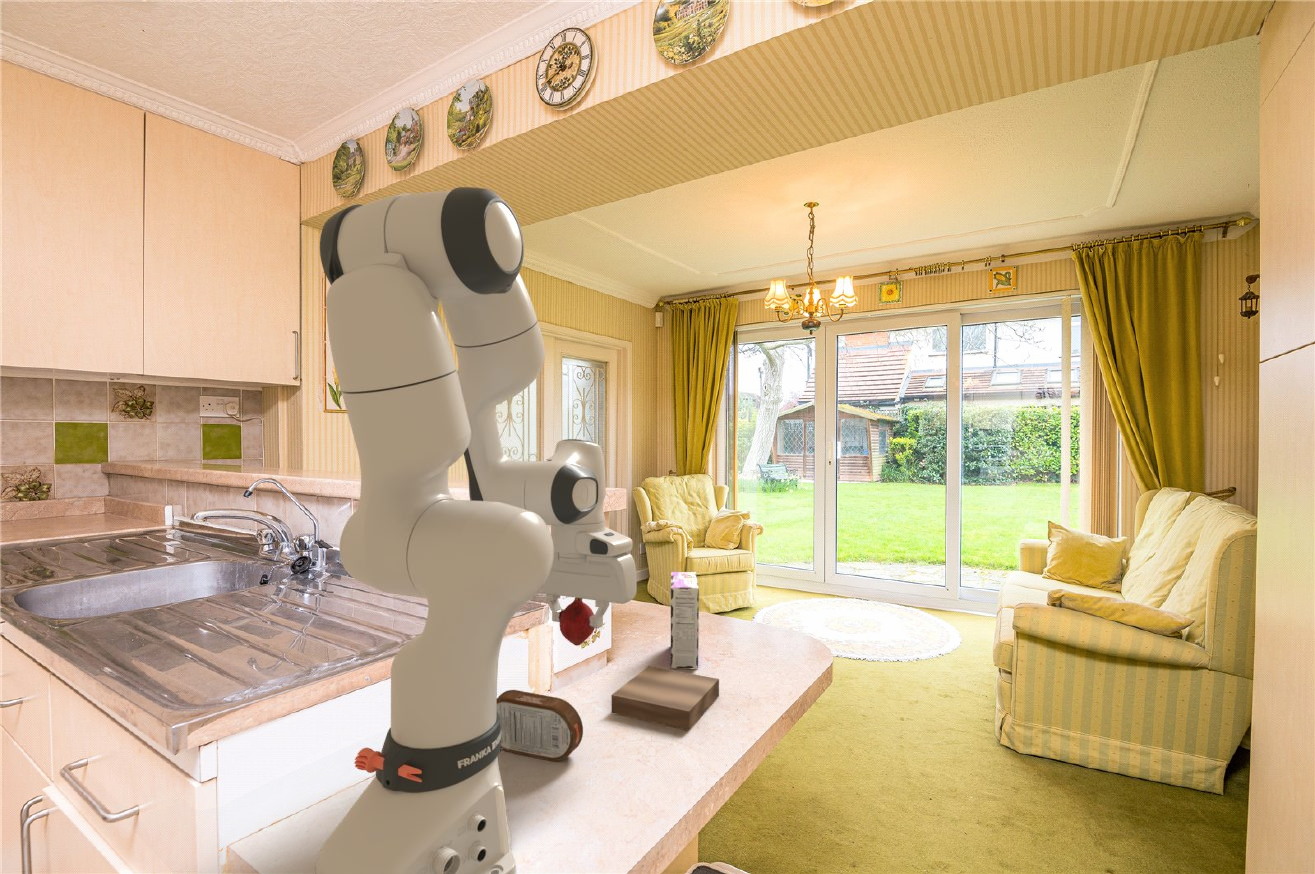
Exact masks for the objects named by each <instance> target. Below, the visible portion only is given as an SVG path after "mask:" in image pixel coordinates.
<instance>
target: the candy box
mask: <svg viewBox="0 0 1315 874" xmlns="http://www.w3.org/2000/svg"><path fill="white" fill-rule="evenodd" d="M698 582H699V581H698V576H697V572H696V571H683V572H682V571H671V575H670V586H669V587H670V591H669V595H670V598H669V599H670V600H669V601H670V606H669V607H670V669H676V668H698V669H699V640H700V639H699V638H700V637H699V635H700V634H699V633H700V631H699V630H700V629H699V628H700V627H699V626H700V623H699V622H700V621H699V619H700V612H699V611H700V606H699V605H700V601H699V600H700V597H699V595H700V591H699V590H700V589H699V588H700V587H699V583H698Z"/></svg>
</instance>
